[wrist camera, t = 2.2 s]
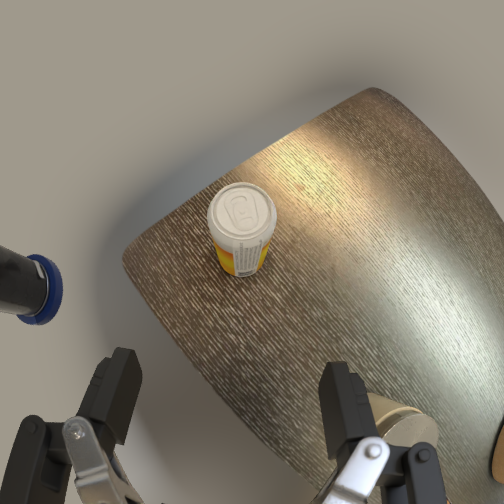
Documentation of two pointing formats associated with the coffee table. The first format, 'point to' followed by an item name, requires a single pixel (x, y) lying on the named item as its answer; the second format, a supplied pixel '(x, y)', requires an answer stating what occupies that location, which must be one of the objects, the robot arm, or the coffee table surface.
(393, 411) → the jar
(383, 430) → the jar lid
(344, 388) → the robot arm
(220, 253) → the beer can
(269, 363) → the coffee table surface
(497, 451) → the planter
